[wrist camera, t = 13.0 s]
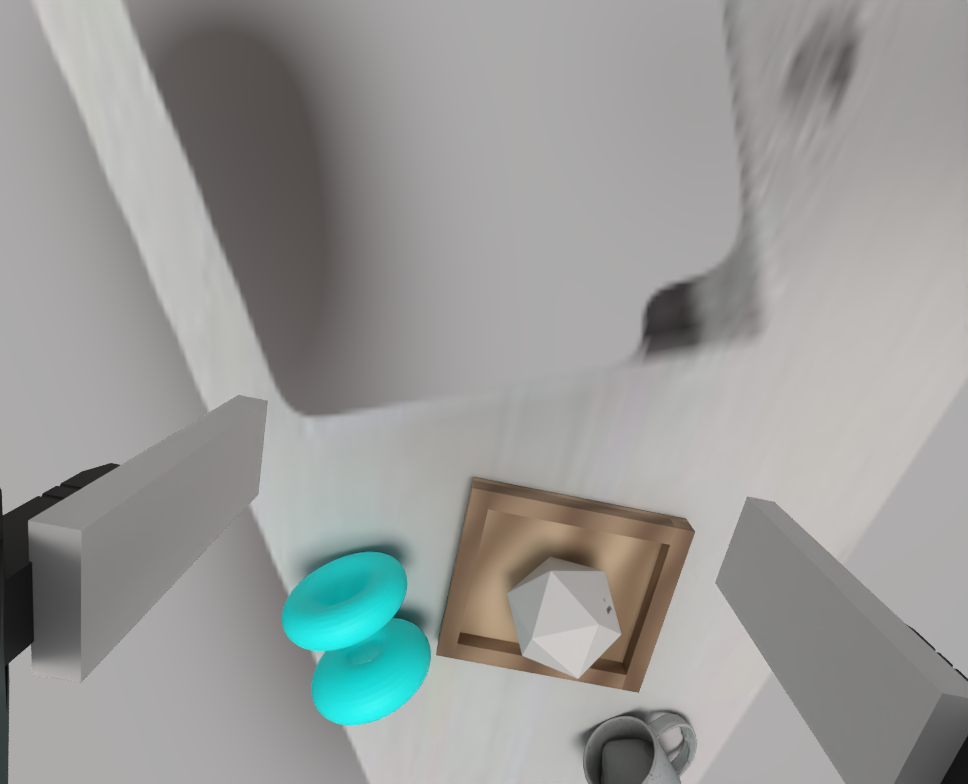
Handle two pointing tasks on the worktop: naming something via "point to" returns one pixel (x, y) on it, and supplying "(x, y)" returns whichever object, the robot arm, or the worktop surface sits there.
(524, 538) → the tray
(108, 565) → the robot arm
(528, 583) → the die
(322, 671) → the donuts
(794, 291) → the worktop surface
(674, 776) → the ceramic mug
